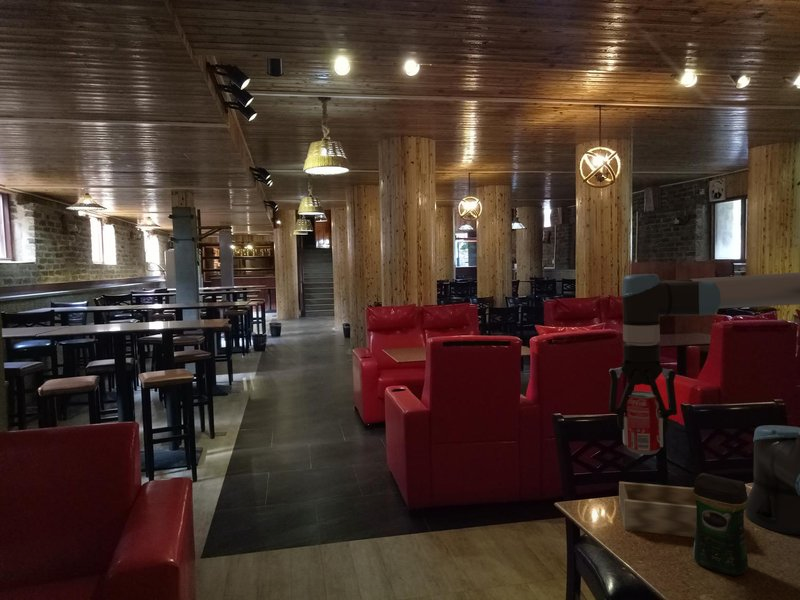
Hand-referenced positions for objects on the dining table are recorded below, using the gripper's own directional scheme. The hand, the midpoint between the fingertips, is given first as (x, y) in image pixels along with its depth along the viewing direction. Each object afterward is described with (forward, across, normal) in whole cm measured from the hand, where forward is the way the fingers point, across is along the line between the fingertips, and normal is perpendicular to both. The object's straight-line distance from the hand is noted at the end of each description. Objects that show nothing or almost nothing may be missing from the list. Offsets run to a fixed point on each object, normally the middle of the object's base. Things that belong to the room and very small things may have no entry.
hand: (642, 444), depth 120 cm
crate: (+23, -8, -11) cm, 26 cm away
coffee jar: (+23, -14, +7) cm, 28 cm away
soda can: (+2, 0, 0) cm, 2 cm away
